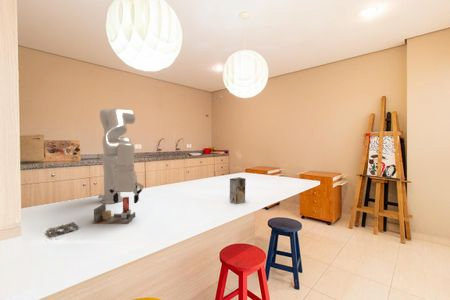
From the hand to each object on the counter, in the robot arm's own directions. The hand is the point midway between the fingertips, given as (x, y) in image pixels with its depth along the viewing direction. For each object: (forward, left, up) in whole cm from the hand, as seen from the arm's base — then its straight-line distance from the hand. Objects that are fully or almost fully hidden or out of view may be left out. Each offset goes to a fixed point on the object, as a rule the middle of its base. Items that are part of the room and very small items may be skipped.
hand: (126, 202), depth 105 cm
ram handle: (0, 0, -9) cm, 9 cm away
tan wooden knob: (-10, 0, -9) cm, 13 cm away
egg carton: (-22, -13, -11) cm, 28 cm away
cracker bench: (-6, 0, -10) cm, 12 cm away
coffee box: (+59, +36, -11) cm, 70 cm away
